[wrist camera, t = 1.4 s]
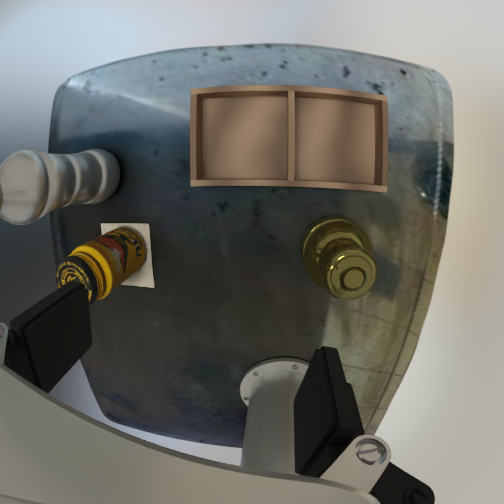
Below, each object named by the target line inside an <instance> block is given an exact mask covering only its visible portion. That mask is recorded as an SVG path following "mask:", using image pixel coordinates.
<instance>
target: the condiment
mask: <svg viewBox="0 0 504 504" xmlns="http://www.w3.org/2000/svg"><path fill="white" fill-rule="evenodd" d="M101 229H102V235H101V236H99V237H97V238H95V239H93V240H91V241H89V242H87V243H84V244H82V245H80V246H78V247H77V248H76V249H75V250H74V251H73V252H72V254H70V255H69V256H68V257H66V258H64V259H62V260H61V262H60V263H59V265H58V266H57V269H56V283H57V287H58V289H59V288H60V287H62V286H63V285H65V284H66V283H68V282H70V281H71V280H75V281H78V282H81V283H83V284H85V286H86V288H87V290H88V297H89V306H90V305H92V304H93V303H94V302H95V301H97V300H100V299H103V298H105V297H106V296H108V295H109V294H110V293H111V292H112V291H113V290H115V289H116V288H117V287H118V286H119V285H120V284H121V285H132V286H134V285H135V286H141V287H151V288H155V287H154V278H153V270H152V258H151V244H150V231H149V224H136V223H111V224H109V223H101ZM139 269H141V270H140V272H139V273H138V271H139Z"/></svg>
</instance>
